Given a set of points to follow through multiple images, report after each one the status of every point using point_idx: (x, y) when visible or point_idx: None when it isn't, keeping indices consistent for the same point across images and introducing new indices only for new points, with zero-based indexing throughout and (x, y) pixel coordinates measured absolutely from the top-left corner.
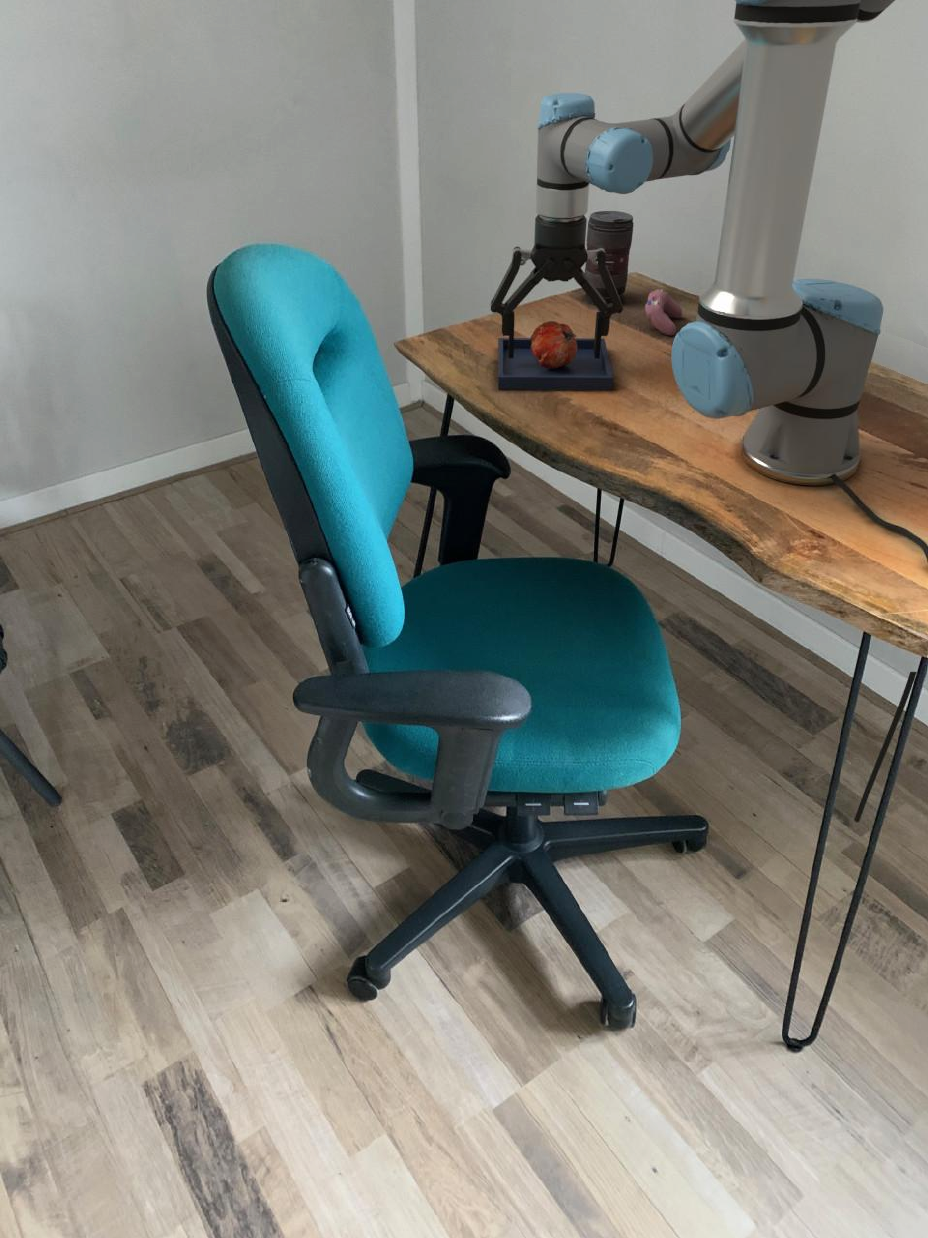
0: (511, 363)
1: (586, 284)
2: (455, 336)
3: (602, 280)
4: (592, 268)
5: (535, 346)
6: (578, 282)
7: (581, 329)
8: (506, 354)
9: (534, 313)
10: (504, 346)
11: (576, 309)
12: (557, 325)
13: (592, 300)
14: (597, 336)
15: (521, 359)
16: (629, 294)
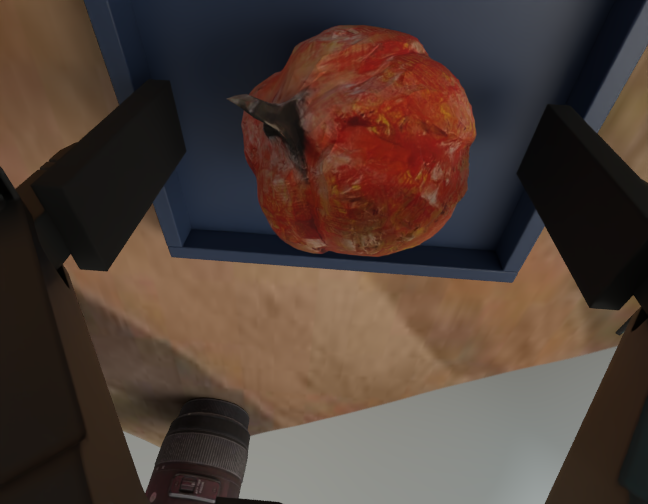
0: (514, 138)
1: (4, 435)
2: (584, 326)
3: (204, 451)
4: (223, 480)
5: (467, 98)
6: (68, 473)
7: (253, 331)
8: (501, 210)
9: (354, 389)
10: (491, 254)
11: (266, 393)
12: (340, 193)
13: (39, 284)
14: (117, 126)
15: None
16: (172, 419)
